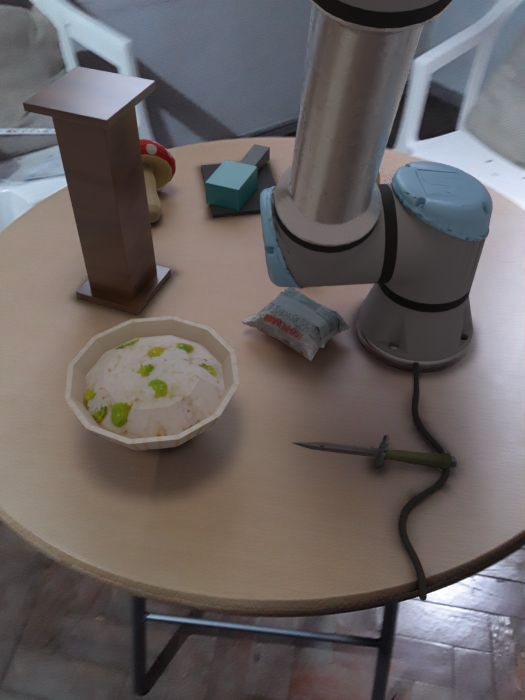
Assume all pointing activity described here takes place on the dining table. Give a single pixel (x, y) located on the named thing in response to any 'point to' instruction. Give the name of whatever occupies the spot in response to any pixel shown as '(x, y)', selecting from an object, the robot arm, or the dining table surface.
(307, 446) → the knife
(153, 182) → the decorative mushroom
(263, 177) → the mat
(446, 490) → the dining table surface
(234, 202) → the teal long block
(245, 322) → the packaged food
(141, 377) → the bowl
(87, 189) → the stand
